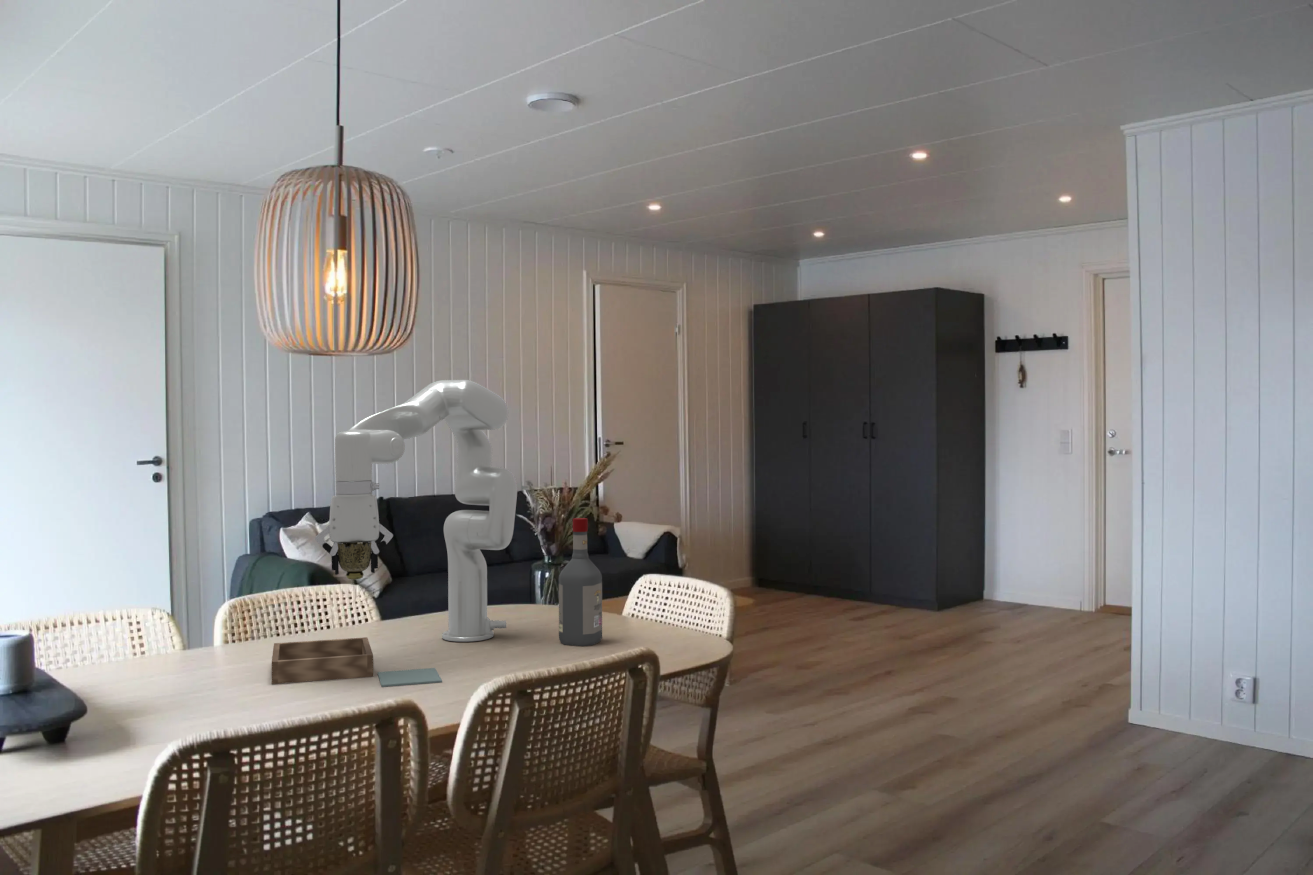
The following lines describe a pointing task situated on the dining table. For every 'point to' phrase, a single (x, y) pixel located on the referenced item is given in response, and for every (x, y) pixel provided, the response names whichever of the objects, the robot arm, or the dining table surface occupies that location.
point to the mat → (409, 677)
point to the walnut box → (321, 660)
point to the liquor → (580, 594)
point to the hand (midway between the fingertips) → (354, 572)
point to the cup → (354, 558)
